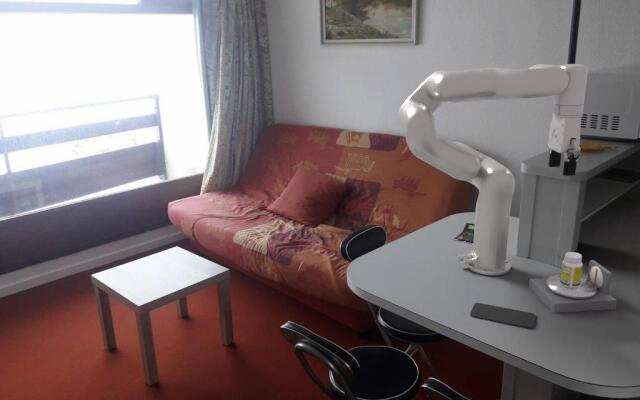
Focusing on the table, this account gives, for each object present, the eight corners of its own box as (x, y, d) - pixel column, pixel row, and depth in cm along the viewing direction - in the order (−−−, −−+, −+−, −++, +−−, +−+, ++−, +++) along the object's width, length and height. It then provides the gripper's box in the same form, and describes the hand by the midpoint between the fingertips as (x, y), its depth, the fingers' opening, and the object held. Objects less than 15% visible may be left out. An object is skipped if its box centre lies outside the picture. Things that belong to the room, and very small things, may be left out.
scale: (553, 312, 132) (557, 282, 130) (528, 287, 146) (531, 258, 143) (615, 308, 133) (619, 278, 131) (584, 283, 147) (588, 255, 144)
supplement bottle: (579, 281, 140) (583, 252, 137) (580, 289, 136) (584, 259, 133) (559, 279, 142) (563, 250, 139) (559, 286, 138) (563, 257, 135)
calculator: (454, 240, 180) (454, 232, 179) (466, 230, 189) (467, 222, 188) (481, 246, 175) (482, 237, 174) (492, 235, 184) (493, 227, 183)
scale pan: (560, 300, 133) (560, 296, 132) (538, 279, 144) (538, 275, 144) (606, 297, 133) (607, 294, 133) (580, 276, 145) (581, 273, 145)
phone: (475, 301, 138) (536, 313, 131) (475, 304, 138) (536, 316, 132) (469, 315, 132) (533, 328, 125) (468, 318, 132) (533, 331, 125)
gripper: (541, 106, 153) (536, 164, 159) (568, 115, 137) (560, 179, 142) (567, 105, 153) (561, 163, 159) (597, 114, 137) (589, 178, 142)
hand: (561, 170), depth 150 cm, fingers open, 9 cm apart
